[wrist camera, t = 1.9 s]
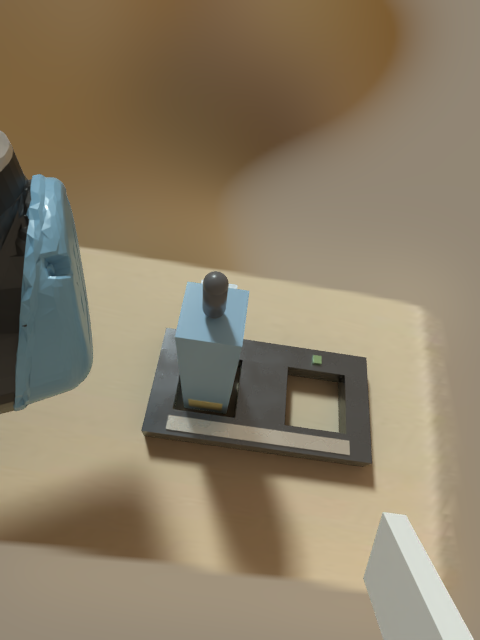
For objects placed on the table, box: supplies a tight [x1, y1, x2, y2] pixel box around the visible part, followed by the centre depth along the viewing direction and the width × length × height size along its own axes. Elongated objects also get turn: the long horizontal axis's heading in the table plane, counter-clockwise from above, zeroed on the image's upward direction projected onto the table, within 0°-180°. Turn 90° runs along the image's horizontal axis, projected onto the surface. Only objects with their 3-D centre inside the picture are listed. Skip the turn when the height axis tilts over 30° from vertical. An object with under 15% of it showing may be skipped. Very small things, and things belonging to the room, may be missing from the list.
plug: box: [175, 271, 249, 414], centre depth 28 cm, size 4×5×19 cm
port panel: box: [141, 328, 372, 467], centre depth 35 cm, size 20×10×2 cm, turn 83°
